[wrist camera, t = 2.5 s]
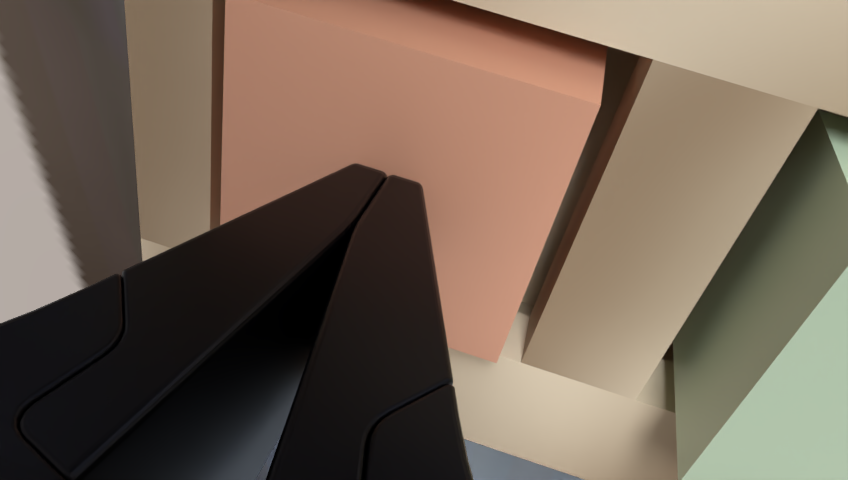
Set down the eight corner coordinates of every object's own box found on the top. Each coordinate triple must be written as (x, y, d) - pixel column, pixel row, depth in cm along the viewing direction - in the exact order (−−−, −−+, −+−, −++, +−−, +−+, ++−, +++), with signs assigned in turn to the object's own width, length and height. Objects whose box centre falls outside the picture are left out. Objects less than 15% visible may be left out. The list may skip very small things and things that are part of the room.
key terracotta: (611, 17, 9) (600, 105, 7) (521, 251, 12) (496, 363, 10) (312, -70, 9) (224, -8, 7) (288, 177, 12) (218, 272, 10)
